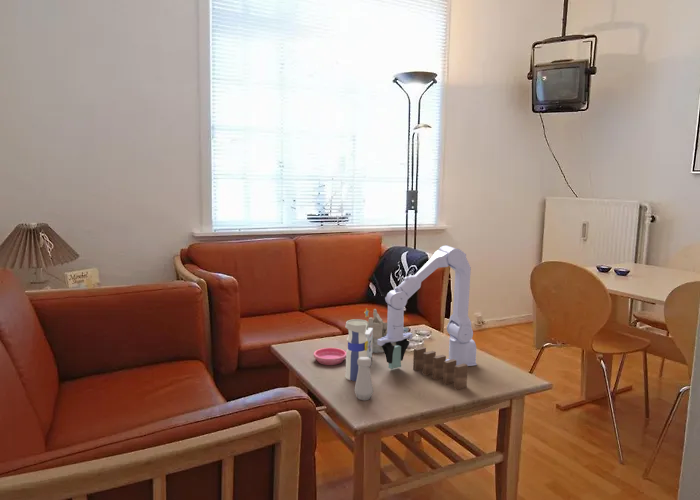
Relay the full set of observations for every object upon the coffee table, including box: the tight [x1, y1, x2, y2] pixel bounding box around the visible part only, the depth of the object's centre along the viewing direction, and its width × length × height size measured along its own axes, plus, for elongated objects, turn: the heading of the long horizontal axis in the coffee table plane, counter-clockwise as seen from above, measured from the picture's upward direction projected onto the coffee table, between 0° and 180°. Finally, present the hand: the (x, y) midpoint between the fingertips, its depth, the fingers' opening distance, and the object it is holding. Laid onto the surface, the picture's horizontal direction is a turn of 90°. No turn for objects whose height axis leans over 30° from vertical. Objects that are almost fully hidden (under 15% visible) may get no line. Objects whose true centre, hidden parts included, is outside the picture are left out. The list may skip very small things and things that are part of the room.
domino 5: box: [442, 359, 457, 385], centre depth 179 cm, size 2×4×8 cm, turn 125°
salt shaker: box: [354, 357, 374, 401], centre depth 166 cm, size 6×6×13 cm
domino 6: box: [453, 364, 469, 391], centre depth 175 cm, size 2×4×8 cm, turn 124°
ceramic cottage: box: [367, 308, 405, 354], centre depth 215 cm, size 16×16×15 cm
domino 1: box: [388, 345, 402, 370], centre depth 190 cm, size 2×4×8 cm, turn 124°
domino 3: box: [422, 350, 437, 376], centre depth 187 cm, size 2×4×8 cm, turn 125°
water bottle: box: [344, 307, 370, 382], centre depth 182 cm, size 8×9×25 cm
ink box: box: [365, 328, 373, 360], centre depth 199 cm, size 9×5×12 cm, turn 168°
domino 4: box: [432, 354, 447, 381], centre depth 183 cm, size 2×4×8 cm, turn 124°
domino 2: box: [412, 346, 427, 372], centre depth 191 cm, size 2×4×8 cm, turn 124°
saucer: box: [313, 347, 347, 366], centre depth 199 cm, size 12×12×3 cm
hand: (394, 361), depth 190 cm, fingers closed on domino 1, 4 cm apart
